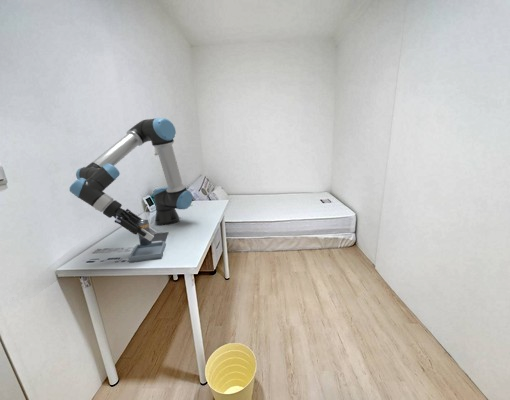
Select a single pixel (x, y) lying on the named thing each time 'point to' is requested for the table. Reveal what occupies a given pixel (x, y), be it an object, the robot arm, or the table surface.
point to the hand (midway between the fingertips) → (153, 236)
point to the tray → (147, 252)
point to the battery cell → (145, 226)
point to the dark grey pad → (159, 237)
